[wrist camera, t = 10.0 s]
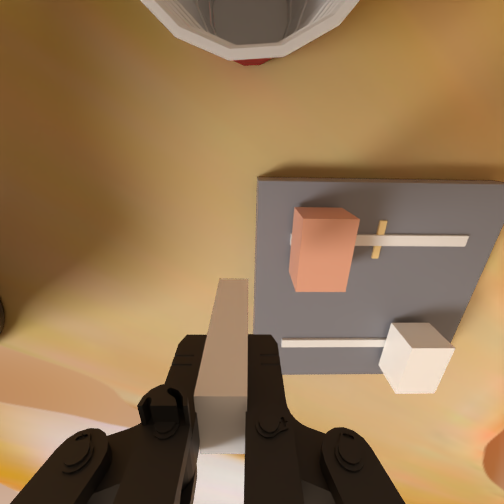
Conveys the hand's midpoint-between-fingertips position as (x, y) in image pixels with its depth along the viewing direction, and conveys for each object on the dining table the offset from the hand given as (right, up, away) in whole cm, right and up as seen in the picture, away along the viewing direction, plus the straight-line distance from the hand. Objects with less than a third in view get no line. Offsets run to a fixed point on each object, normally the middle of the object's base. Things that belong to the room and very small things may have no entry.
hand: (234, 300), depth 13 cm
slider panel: (+12, -1, +14) cm, 18 cm away
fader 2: (+17, -7, +13) cm, 23 cm away
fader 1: (+6, +4, +8) cm, 11 cm away
